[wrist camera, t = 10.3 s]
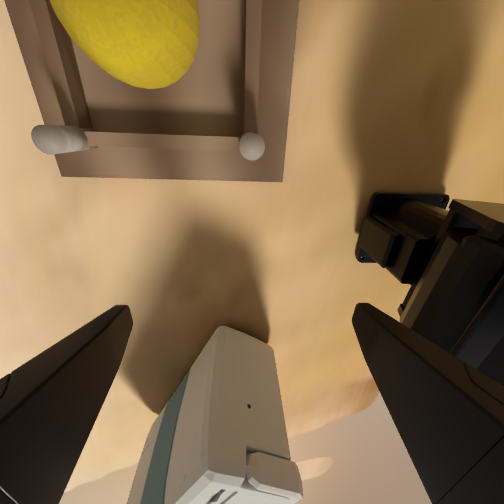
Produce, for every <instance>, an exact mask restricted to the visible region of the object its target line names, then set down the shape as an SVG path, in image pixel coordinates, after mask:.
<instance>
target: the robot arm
mask: <svg viewBox="0 0 504 504" xmlns="http://www.w3.org/2000/svg"><path fill="white" fill-rule="evenodd" d="M379 196H380V199H379V200H378V201H377V198H378V197H379ZM442 198H443V200H442V201H441V202H440V200H441V199H442ZM449 199H450V198H449V196H448V195H446V194H443V193H405V192H376V193H374V194H373V196H372V198H371V201H370V205H369V209H368V213H367V216H366V217H365V219H364V222H363V226H362V230H361V234H360V237H359V241H358V244H359V246H358V250H357V254H356V259H357V260H358V261H359V262H361V263H378V264H379V265H380V266H381V267H382V268H386V269H387V270H388V271H389V272H390V273H391V274H392V275H394V276H395V277H396V278H397V279H398V280H399V281H400V282H401V283H403V284H409V285H411V288H410V290H409V292H408V294H407V296H406V298H405V300H404V302H403V304H400V306H399V308H398V313H399V315H400V322H398V321H397V320H395V319H393V318H392V317H390V316H389V315H387V314H385V313H384V312H382V311H380V310H379V309H377V308H375V307H374V306H372V305H371V304H369V303H358V304H357V305H356V307H355V310H354V314H353V317H352V324H353V327H354V330H355V333H356V336H357V339H358V341H359V344H360V347H361V350H362V353H363V356H364V358H365V361H366V363H367V365H368V367H369V370H370V372H371V374H372V376H373V378H374V380H375V382H376V385H377V387H378V389H379V391H380V393H381V395H382V397H383V400H384V402H385V404H386V406H387V408H388V410H389V412H390V415H391V417H392V419H393V421H394V423H395V425H396V427H397V429H398V432H399V434H400V436H401V438H402V440H403V442H404V444H405V447H406V449H407V451H408V453H409V455H410V457H411V459H412V462H413V464H414V466H415V468H416V470H417V472H418V475H419V477H420V479H421V481H422V483H423V485H424V487H425V490H426V492H427V494H428V496H429V498H430V500H431V502H432V504H504V204H499V203H489V202H479V201H469V200H459V199H453V200H452V202H451V204H450V206H449V208H450V210H449V211H447V210H445V209H446V207H447V204H448V202H449ZM363 255H364V256H363ZM361 256H363V257H362V258H361ZM132 327H133V320H132V316H131V312H130V308H129V306H128V305H115V306H114V307H112V308H111V309H109V310H107V311H106V312H104V313H103V314H101V315H100V316H98V317H97V318H95V319H93V320H92V321H90V322H89V323H87V324H86V325H84V326H83V327H81V328H79V329H78V330H76V331H75V332H73V333H72V334H70V335H68V336H67V337H65V338H64V339H62V340H61V341H59V342H58V343H56V344H54V345H53V346H51V347H50V348H48V349H47V350H45V351H43V352H42V353H40V354H39V355H37V356H36V357H34V358H33V359H31V360H29V361H28V362H26V363H25V364H23V365H22V366H20V367H18V368H17V369H15V370H14V371H12V373H11V374H7V375H6V376H4V377H3V378H1V379H0V504H59V502H60V500H61V497H62V495H63V493H64V491H65V488H66V486H67V484H68V482H69V479H70V477H71V475H72V473H73V470H74V468H75V466H76V464H77V461H78V459H79V457H80V455H81V452H82V450H83V448H84V446H85V443H86V441H87V439H88V437H89V434H90V432H91V430H92V428H93V425H94V423H95V421H96V419H97V416H98V414H99V412H100V410H101V407H102V405H103V403H104V401H105V398H106V396H107V394H108V392H109V389H110V387H111V385H112V383H113V380H114V378H115V376H116V374H117V371H118V369H119V366H120V364H121V361H122V358H123V355H124V352H125V349H126V346H127V342H128V339H129V336H130V333H131V330H132Z"/></svg>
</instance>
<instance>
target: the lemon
mask: <svg viewBox="0 0 504 504" xmlns="http://www.w3.org/2000/svg"><path fill="white" fill-rule="evenodd" d="M49 1H50V3H51V5H52V8H53V10H54V12H55V14H56V16H57V17H58V19H59V20H60V22H61V23H62V25H63V27H64V28H65V30H66V31H67V33H68V34H69V36H70V37H71V38H72V40H73V41H74V42H75V43H76V44H77V45H78V46H79V48H80V49H81V50H82V51H83V52H84V53H85V54H86V55H87V56H88V57H89V58H90V59H91V61H93V62H94V63H95V64H96V65H98V66H99V67H100V68H102V69H103V70H104V71H106V72H107V73H108V74H110V75H111V76H112V77H114V78H116V79H118V80H120V81H122V82H125V83H127V84H129V85H131V86H135V87H140V88H146V89H156V88H164V87H167V86H169V85H171V84H173V83H175V82H177V81H178V80H179V79H180V78H181V77H182V76H183V75H184V74H186V73H187V71H188V69H189V68H190V66H191V64H192V63H193V61H194V59H195V55H196V52H197V48H198V44H199V32H200V20H199V11H198V3H197V0H49Z"/></svg>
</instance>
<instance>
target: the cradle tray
mask: <svg viewBox="0 0 504 504" xmlns="http://www.w3.org/2000/svg"><path fill="white" fill-rule="evenodd" d="M4 1H5V4H6V7H7V10H8V13H9V16H10V19H11V22H12V25H13V28H14V31H15V34H16V37H17V41H18V44H19V47H20V50H21V53H22V56H23V59H24V62H25V65H26V68H27V71H28V74H29V78H30V81H31V84H32V87H33V90H34V93H35V96H36V99H37V102H38V105H39V108H40V111H41V114H42V118H43V121H44V124H45V125H37V126H35V127H34V128H33V130H32V133H31V136H32V140H33V142H34V144H35V145H36V147H37V148H38V149H39V150H41V151H42V152H44V153H46V154H55V158H56V161H57V164H58V167H59V170H60V173H61V176H62V177H101V178H141V179H180V180H220V181H260V182H282V181H283V170H284V159H285V148H286V137H287V126H288V115H289V104H290V93H291V83H292V72H293V61H294V50H295V39H296V28H297V17H298V6H299V0H197V3H198V11H199V20H200V32H199V44H198V48H197V52H196V55H195V59H194V61H193V63H192V64H191V66H190V68H189V69H188V71H187V73H186V74H184V75H183V76H182V77H181V78H180V79H179V80H178V81H177V82H175V83H173V84H171V85H169V86H167V87H164V88H156V89H146V88H140V87H135V86H131V85H129V84H127V83H125V82H122V81H120V80H118V79H116V78H114V77H112V76H111V75H110V74H108V73H107V72H106V71H104V70H103V69H102V68H100V67H99V66H98V65H96V64H95V63H94V62H93V61H91V59H90V58H89V57H88V56H87V55H86V54H85V53H84V52H83V51H82V50H81V49H80V48H79V46H78V45H77V44H76V43H75V42H74V41H73V40H72V38H71V37H70V36H69V34H68V33H67V31H66V30H65V28H64V27H63V25H62V23H61V22H60V20H59V19H58V17H57V16H56V14H55V12H54V10H53V8H52V5H51V3H50V1H49V0H4Z"/></svg>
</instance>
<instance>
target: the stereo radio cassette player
mask: <svg viewBox="0 0 504 504" xmlns="http://www.w3.org/2000/svg"><path fill="white" fill-rule="evenodd" d="M290 458H291V457H290V451H289V445H288V439H287V432H286V426H285V420H284V413H283V407H282V401H281V394H280V388H279V382H278V376H277V369H276V363H275V357H274V350H273V348H272V347H271V346H269V345H268V344H266V343H264V342H262V341H260V340H258V339H256V338H254V337H252V336H250V335H247V334H245V333H243V332H240V331H238V330H235V329H233V328H230V327H227V326H219V327H218V328H217V329H216V331H215V332H214V334H213V335H212V337H211V338H210V340H209V341H208V343H207V344H206V346H205V347H204V349H203V350H202V352H201V353H200V354H199V356H198V357H197V359H196V360H195V362H194V363H193V365H192V366H191V368H190V369H189V371H188V372H187V374H186V375H185V377H184V378H183V380H182V381H181V383H180V384H179V386H178V387H177V389H176V390H175V392H174V393H173V395H172V396H171V398H170V399H169V401H168V402H167V404H166V405H165V407H164V408H163V410H162V411H161V413H160V414H159V416H158V417H157V419H156V420H155V422H154V423H153V425H152V427H151V429H150V431H149V434H148V436H147V439H146V442H145V445H144V448H143V451H142V454H141V457H140V460H139V464H138V467H137V470H136V474H135V477H134V480H133V484H132V488H131V491H130V494H129V498H128V501H127V504H295V503H296V502H298V501H299V500H301V499H302V498H303V490H302V481H301V477H300V473H299V470H298V467H297V465H296V464H295V462H293V461H290Z"/></svg>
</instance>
